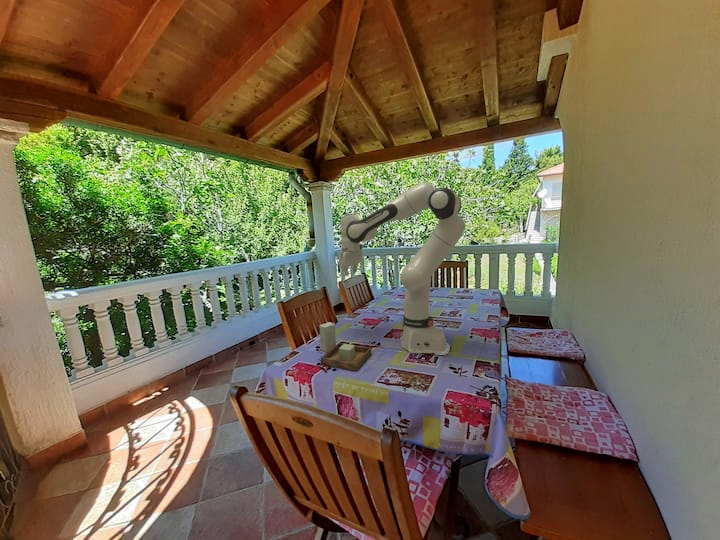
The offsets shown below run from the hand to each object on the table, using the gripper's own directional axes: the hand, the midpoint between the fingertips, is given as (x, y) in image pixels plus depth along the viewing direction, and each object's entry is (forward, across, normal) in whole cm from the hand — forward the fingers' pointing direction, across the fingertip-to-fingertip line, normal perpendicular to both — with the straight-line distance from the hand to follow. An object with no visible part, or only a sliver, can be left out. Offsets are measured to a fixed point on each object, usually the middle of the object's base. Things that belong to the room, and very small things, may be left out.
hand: (350, 274), depth 147 cm
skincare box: (+32, -23, +1) cm, 39 cm away
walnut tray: (+31, -29, -11) cm, 44 cm away
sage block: (+31, -29, -11) cm, 43 cm away
